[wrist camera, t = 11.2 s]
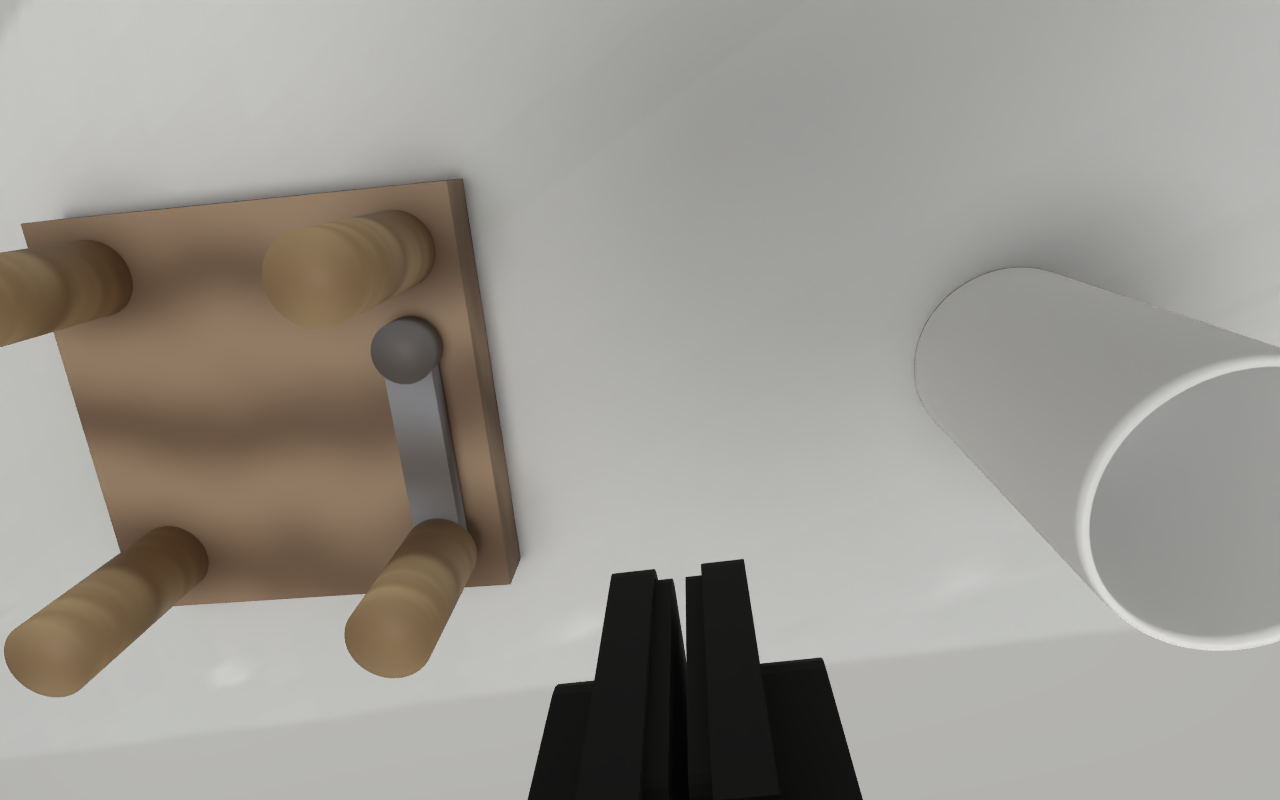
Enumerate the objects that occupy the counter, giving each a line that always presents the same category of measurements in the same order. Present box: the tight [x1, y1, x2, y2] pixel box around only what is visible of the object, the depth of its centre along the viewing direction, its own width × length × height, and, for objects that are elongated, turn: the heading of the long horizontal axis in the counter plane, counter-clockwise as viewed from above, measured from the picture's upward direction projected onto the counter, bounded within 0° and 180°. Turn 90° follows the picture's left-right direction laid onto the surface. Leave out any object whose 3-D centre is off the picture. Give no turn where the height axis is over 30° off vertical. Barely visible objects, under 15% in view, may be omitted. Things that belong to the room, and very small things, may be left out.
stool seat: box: [0, 179, 520, 697], centre depth 33 cm, size 18×18×11 cm
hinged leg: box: [345, 316, 477, 678], centre depth 32 cm, size 12×3×8 cm, turn 6°
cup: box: [915, 267, 1280, 651], centre depth 29 cm, size 8×8×16 cm
